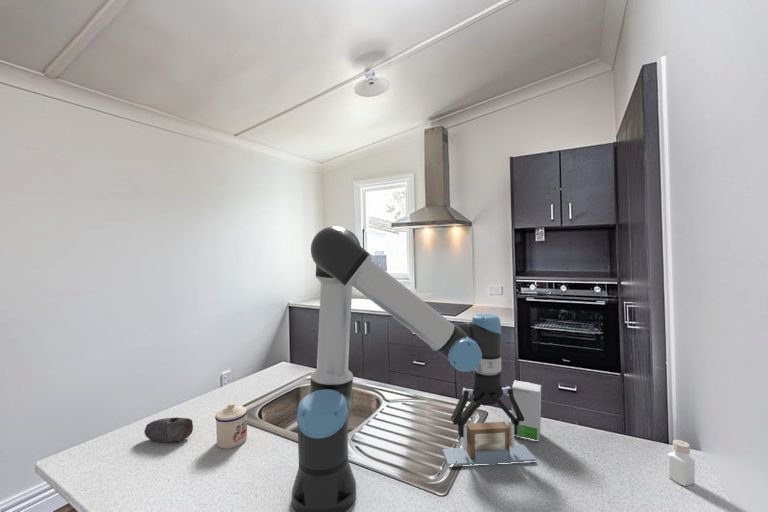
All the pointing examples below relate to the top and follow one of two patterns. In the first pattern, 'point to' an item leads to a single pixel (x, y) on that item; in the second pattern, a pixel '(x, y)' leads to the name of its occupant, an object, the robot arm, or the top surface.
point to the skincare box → (528, 408)
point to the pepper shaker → (681, 463)
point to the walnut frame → (487, 437)
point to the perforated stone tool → (169, 429)
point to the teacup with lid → (231, 426)
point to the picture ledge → (488, 456)
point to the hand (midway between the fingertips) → (487, 446)
